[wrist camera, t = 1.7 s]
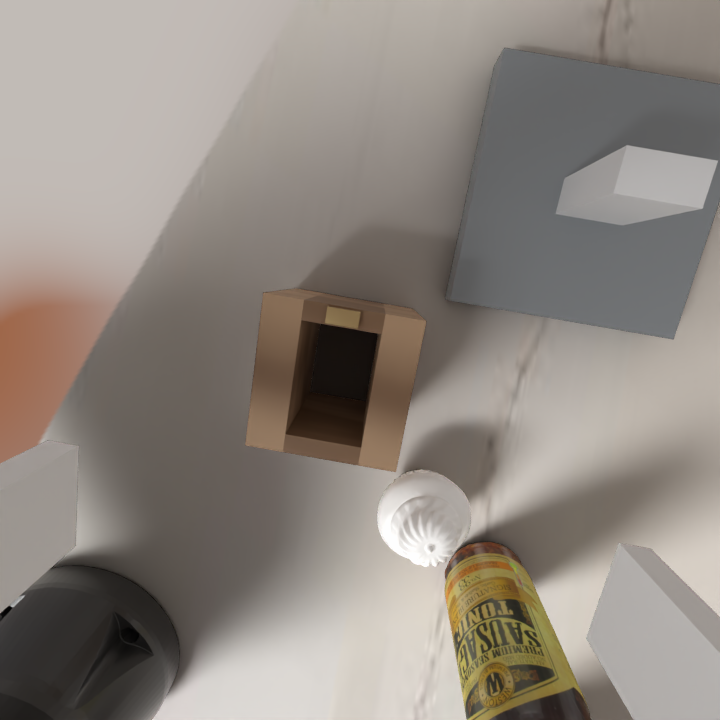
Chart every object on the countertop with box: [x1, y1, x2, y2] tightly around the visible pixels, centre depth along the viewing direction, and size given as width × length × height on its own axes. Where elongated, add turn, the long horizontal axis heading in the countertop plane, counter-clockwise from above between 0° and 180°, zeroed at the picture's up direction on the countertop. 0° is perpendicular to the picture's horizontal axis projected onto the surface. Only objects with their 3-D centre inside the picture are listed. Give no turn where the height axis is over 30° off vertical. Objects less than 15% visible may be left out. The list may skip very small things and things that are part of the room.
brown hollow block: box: [245, 288, 427, 472], centre depth 24 cm, size 8×8×8 cm
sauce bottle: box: [445, 542, 591, 720], centre depth 21 cm, size 7×6×20 cm
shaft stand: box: [445, 48, 720, 339], centre depth 22 cm, size 14×14×8 cm
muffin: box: [377, 469, 471, 567], centre depth 27 cm, size 6×6×7 cm
